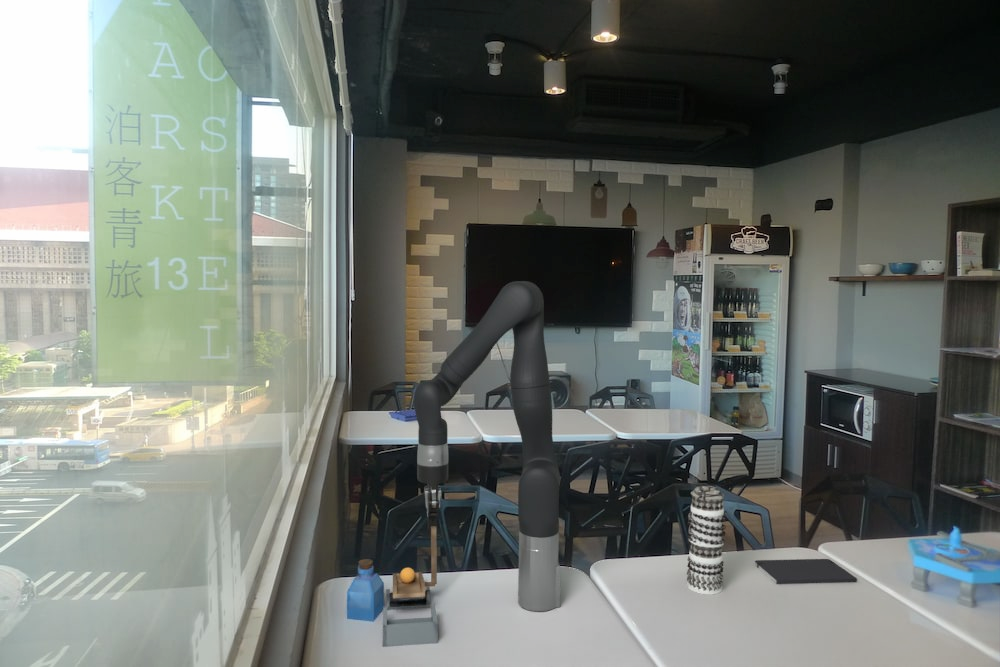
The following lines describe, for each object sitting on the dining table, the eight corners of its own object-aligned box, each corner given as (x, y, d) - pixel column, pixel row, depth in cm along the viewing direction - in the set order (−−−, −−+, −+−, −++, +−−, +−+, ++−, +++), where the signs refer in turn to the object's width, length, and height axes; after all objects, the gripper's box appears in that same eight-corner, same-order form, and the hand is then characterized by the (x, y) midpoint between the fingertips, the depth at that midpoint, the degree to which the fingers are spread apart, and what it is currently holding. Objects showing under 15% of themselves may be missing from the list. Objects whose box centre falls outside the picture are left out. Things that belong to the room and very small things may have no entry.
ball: (414, 581, 167) (414, 565, 167) (415, 584, 163) (415, 568, 164) (399, 582, 166) (399, 566, 167) (400, 585, 163) (400, 569, 163)
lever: (434, 583, 168) (433, 523, 171) (439, 595, 151) (438, 529, 154) (392, 585, 166) (392, 525, 169) (392, 598, 150) (393, 531, 153)
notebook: (776, 586, 172) (856, 584, 174) (776, 580, 172) (857, 578, 174) (753, 565, 185) (828, 564, 187) (753, 560, 185) (829, 558, 187)
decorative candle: (731, 593, 167) (735, 492, 165) (697, 597, 164) (701, 494, 163) (711, 578, 176) (714, 482, 174) (678, 581, 173) (681, 484, 172)
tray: (434, 620, 151) (434, 602, 151) (437, 642, 142) (437, 624, 141) (383, 623, 149) (383, 606, 149) (382, 646, 140) (382, 627, 140)
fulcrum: (429, 597, 162) (429, 584, 162) (430, 607, 157) (430, 593, 157) (386, 600, 161) (386, 586, 160) (386, 610, 156) (386, 596, 156)
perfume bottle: (373, 621, 150) (373, 568, 149) (347, 618, 152) (346, 565, 151) (383, 609, 156) (383, 557, 156) (358, 606, 158) (358, 555, 157)
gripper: (450, 467, 160) (450, 540, 162) (446, 454, 173) (445, 521, 175) (418, 468, 159) (417, 541, 160) (416, 454, 172) (416, 522, 173)
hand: (432, 530), depth 167 cm, fingers closed
